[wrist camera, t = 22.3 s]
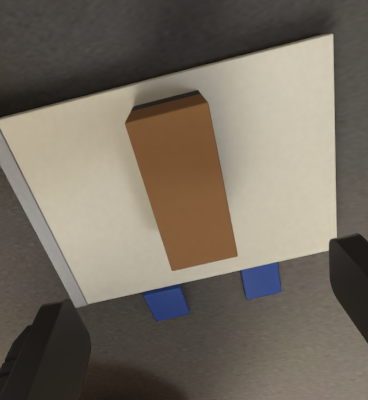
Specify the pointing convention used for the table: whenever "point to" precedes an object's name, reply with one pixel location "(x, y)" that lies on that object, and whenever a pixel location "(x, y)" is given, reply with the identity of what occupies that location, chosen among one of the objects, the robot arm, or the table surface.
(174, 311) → the blue rectangular block
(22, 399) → the robot arm
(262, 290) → the blue flat block
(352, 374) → the table surface
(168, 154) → the eraser
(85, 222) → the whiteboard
